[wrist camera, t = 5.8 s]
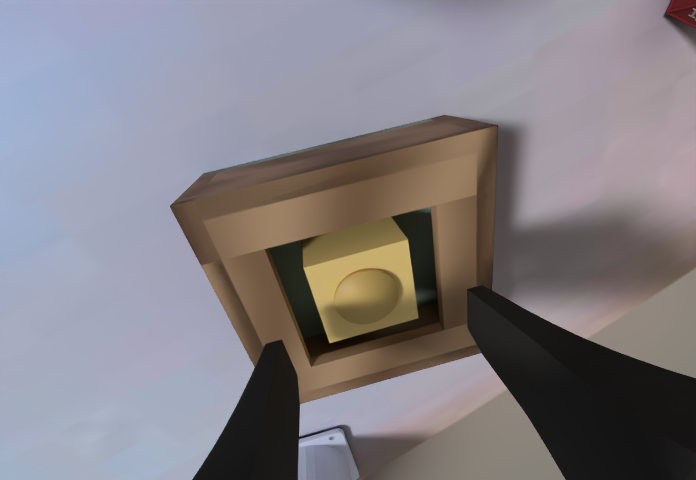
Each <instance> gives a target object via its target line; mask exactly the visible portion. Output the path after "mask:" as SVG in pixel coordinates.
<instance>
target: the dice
mask: <svg viewBox="0 0 696 480" xmlns="http://www.w3.org/2000/svg"><path fill="white" fill-rule="evenodd" d="M666 14H668V15H670V16H672V17H674V18H676V19H678V20H681V21H683V22H685V23H687V24H689V25H691V26H693V27H695V28H696V0H672V1H671V3H670V5H669V7H668V9H667V11H666Z"/></svg>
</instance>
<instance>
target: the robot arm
mask: <svg viewBox="0 0 696 480" xmlns="http://www.w3.org/2000/svg"><path fill="white" fill-rule="evenodd" d="M467 328H468V330H469V332H470V334H471V335H472V337H473V339H474V341H475V343H476V344H477V346H478V348H479V349H480V351H481V353H482V354H483V356H484V357H485V358H486V360H487V361H488V362H489V364H490V365H491V367H492V368H493V369H494V371H495V372H496V373H497V375H498V376H499V377H500V379H501V380H502V382H503V383H504V384H505V386H506V387H507V388H508V390H509V391H510V392H511V393H512V395H513V396H514V398H515V399H516V401H517V402H518V403H519V405H520V406H521V407H522V409H523V410H524V412H525V413H526V415H527V416H528V418H529V419H530V421H531V422H532V424H533V426H534V427H535V429H536V430H537V432H538V433H539V435H540V437H541V439H542V440H543V442H544V444H545V445H546V447H547V449H548V450H549V452H550V454H551V455H552V457H553V459H554V460H555V462H556V464H557V466H558V467H559V469H560V470H561V472H562V474H563V476H564V477H565V479H566V480H696V378H693V377H689V376H686V375H683V374H679V373H676V372H673V371H670V370H666V369H664V368H660V367H658V366H655V365H652V364H649V363H646V362H644V361H640V360H638V359H635V358H632V357H629V356H627V355H624V354H621V353H619V352H616V351H613V350H611V349H609V348H606V347H604V346H601V345H599V344H596V343H594V342H592V341H589V340H587V339H585V338H582V337H580V336H578V335H576V334H573V333H571V332H569V331H567V330H565V329H563V328H561V327H559V326H557V325H555V324H552V323H551V322H549V321H547V320H545V319H543V318H541V317H539V316H537V315H535V314H533V313H531V312H529V311H528V310H526V309H524V308H522V307H520V306H518V305H517V304H515V303H513V302H511V301H510V300H508V299H506V298H504V297H502V296H501V295H499V294H497V293H495V292H494V291H492V290H490V289H488V288H487V287H485V286H483V285H480V286H477V287H473V288H469V289H467ZM299 418H300V399H299V387H298V376H297V373H296V371H295V368H294V366H293V364H292V361H291V359H290V357H289V355H288V352H287V350H286V348H285V345H284V343H283V341H282V339H281V340H278V341H274V342H270V343H267V344H265V346H264V348H263V350H262V352H261V355H260V357H259V359H258V362H257V364H256V366H255V368H254V371H253V373H252V375H251V377H250V379H249V382H248V384H247V386H246V388H245V390H244V392H243V394H242V396H241V398H240V400H239V402H238V404H237V406H236V408H235V410H234V412H233V413H232V415H231V417H230V419H229V421H228V423H227V424H226V426H225V428H224V430H223V432H222V433H221V435H220V437H219V439H218V440H217V442H216V444H215V445H214V447H213V449H212V450H211V452H210V453H209V455H208V457H207V458H206V460H205V461H204V463H203V465H202V466H201V468H200V469H199V471H198V472H197V473H196V475H195V476H194V478H193V479H192V480H357V479H358V478H359V472H358V469H357V466H356V464H355V461H354V458H353V456H352V453H351V450H350V448H349V445H348V442H347V439H346V437H345V434H344V431H343V430H342V429H340V428H337V429H333V430H330V431H326V432H323V433H319V434H316V435H312V436H309V437H305V438H302V439H299Z"/></svg>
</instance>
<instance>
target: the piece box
mask: <svg viewBox="0 0 696 480" xmlns="http://www.w3.org/2000/svg"><path fill="white" fill-rule="evenodd" d="M497 135H498V125H493V124H488V123H483V122H477V121H472V120H467V119H462V118H457V117H452V116H446V115H443V116H439V117H435V118H431V119H427V120H422V121H418V122H414V123H410V124H406V125H402V126H398V127H394V128H389V129H385V130H381V131H377V132H373V133H369V134H365V135H361V136H357V137H352V138H348V139H344V140H340V141H336V142H332V143H328V144H324V145H319V146H315V147H311V148H307V149H303V150H299V151H295V152H291V153H286V154H282V155H278V156H274V157H270V158H266V159H262V160H258V161H253V162H249V163H245V164H241V165H237V166H233V167H229V168H225V169H220V170H216V171H212V172H208V173H204V174H203V175H202V176H201V177H200V178H198V179H197V180H196V181H195V182H194V183H193V184H192V185H191V186H190V187H189V188H188V189H187V190H186V191H185V192H184V193H183V194H182V195H181V196H180V197H179V198H178V199H177V200H176V201H175V202H174V203H173V204H172V205H171V206H170V208H171V210H172V212H173V213H174V215H175V217H176V219H177V221H178V223H179V225H180V227H181V229H182V230H183V232H184V234H185V236H186V238H187V240H188V242H189V244H190V246H191V247H192V249H193V251H194V253H195V255H196V257H197V259H198V261H199V263H200V264H201V266H202V268H203V270H204V272H205V274H206V276H207V278H208V280H209V281H210V283H211V285H212V287H213V289H214V291H215V293H216V295H217V297H218V299H219V300H220V302H221V304H222V306H223V308H224V310H225V312H226V314H227V316H228V317H229V319H230V321H231V323H232V325H233V327H234V329H235V331H236V333H237V334H238V336H239V338H240V340H241V342H242V344H243V346H244V348H245V350H246V351H247V353H248V355H249V357H250V359H251V361H252V363H253V365H254V367H255V366H256V364H257V362H258V359H259V357H260V355H261V352H262V350H263V348H264V346H265V344H267V343H270V342H274V341H278V340H281V339H282V341H283V343H284V345H285V348H286V350H287V352H288V355H289V357H290V359H291V361H292V364H293V366H294V368H295V371H296V373H297V376H298V387H299V399H300V404H302V403H305V402H309V401H312V400H316V399H320V398H323V397H327V396H330V395H334V394H337V393H341V392H344V391H348V390H351V389H355V388H359V387H362V386H366V385H369V384H373V383H376V382H380V381H383V380H387V379H391V378H394V377H398V376H401V375H405V374H408V373H412V372H415V371H419V370H422V369H426V368H430V367H433V366H437V365H440V364H444V363H447V362H451V361H454V360H458V359H462V358H465V357H469V356H472V355H476V354H479V353H481V351H480V349H479V348H478V346H477V344H476V343H475V341H474V339H473V337H472V335H471V334H470V332H469V330H468V328H467V289H469V288H473V287H477V286H480V285H483V286H485V287H487V288H488V289H490V290H492V272H493V244H494V217H495V189H496V162H497ZM388 217H392V219H393V220H394V221H395V223H396V224H397V225H398V227H399V228H400V230H401V231H402V232H403V234H404V235H405V236H406V238H407V239H408V244H409V251H410V258H411V266H412V273H413V281H414V288H415V295H416V303H417V310H418V317H419V318H417V319H414V320H410V321H407V322H403V323H400V324H396V325H393V326H389V327H385V328H382V329H378V330H375V331H371V332H368V333H364V334H361V335H357V336H354V337H350V338H347V339H343V340H340V341H336V342H333V343H329V340H328V337H327V334H326V331H325V328H324V325H323V323H322V320H321V317H320V314H319V311H318V308H317V305H316V302H315V300H314V297H313V294H312V291H311V288H310V285H309V282H308V279H307V277H306V274H305V271H304V268H303V248H302V239H306V238H310V237H314V236H318V235H321V234H325V233H329V232H333V231H337V230H341V229H345V228H349V227H353V226H357V225H360V224H364V223H368V222H372V221H376V220H380V219H384V218H388Z"/></svg>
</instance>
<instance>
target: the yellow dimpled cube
mask: <svg viewBox="0 0 696 480" xmlns="http://www.w3.org/2000/svg"><path fill="white" fill-rule="evenodd" d="M302 248H303V268H304V271H305V274H306V277H307V279H308V282H309V285H310V288H311V291H312V294H313V297H314V300H315V302H316V305H317V308H318V311H319V314H320V317H321V320H322V323H323V325H324V328H325V331H326V334H327V337H328V340H329V343H333V342H336V341H340V340H343V339H347V338H350V337H354V336H357V335H361V334H364V333H368V332H371V331H375V330H378V329H382V328H385V327H389V326H393V325H396V324H400V323H403V322H407V321H410V320H414V319H417V318H419V317H418V310H417V303H416V295H415V288H414V281H413V273H412V266H411V258H410V251H409V244H408V239H407V238H406V236H405V235H404V234H403V232H402V231H401V230H400V228H399V227H398V225H397V224H396V223H395V221H394V220H393V219H392V217H388V218H384V219H380V220H376V221H372V222H368V223H364V224H360V225H357V226H353V227H349V228H345V229H341V230H337V231H333V232H329V233H325V234H321V235H318V236H314V237H310V238H306V239H302Z"/></svg>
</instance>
